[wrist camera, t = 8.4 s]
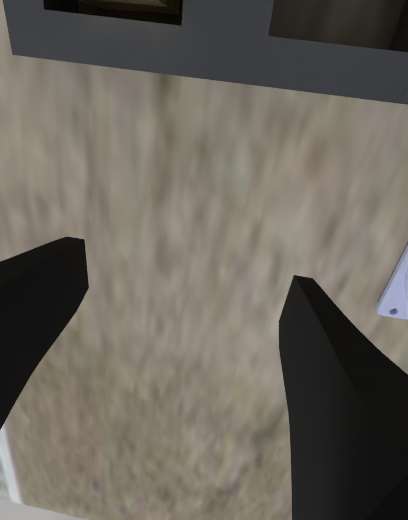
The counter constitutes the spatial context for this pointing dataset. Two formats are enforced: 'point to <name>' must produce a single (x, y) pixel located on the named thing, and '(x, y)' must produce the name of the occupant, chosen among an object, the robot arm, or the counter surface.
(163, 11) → the brass peg
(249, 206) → the counter surface
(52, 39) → the grey slotted block
